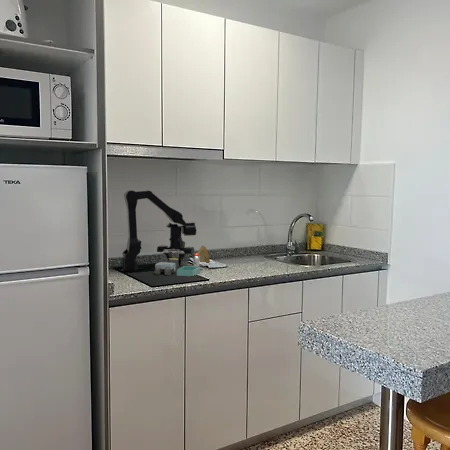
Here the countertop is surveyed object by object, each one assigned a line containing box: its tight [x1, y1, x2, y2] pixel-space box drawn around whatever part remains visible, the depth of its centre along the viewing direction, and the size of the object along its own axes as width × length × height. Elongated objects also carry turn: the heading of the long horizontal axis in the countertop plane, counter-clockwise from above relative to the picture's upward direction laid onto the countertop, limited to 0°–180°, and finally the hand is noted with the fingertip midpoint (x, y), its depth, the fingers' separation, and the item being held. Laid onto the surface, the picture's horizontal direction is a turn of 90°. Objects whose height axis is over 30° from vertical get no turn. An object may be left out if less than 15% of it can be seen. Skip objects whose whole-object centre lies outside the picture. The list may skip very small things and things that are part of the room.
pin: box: [192, 252, 200, 267], centre depth 228 cm, size 3×3×8 cm
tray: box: [176, 265, 201, 277], centre depth 217 cm, size 8×10×3 cm
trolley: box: [154, 261, 177, 276], centre depth 218 cm, size 8×10×5 cm
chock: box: [168, 256, 183, 270], centre depth 233 cm, size 5×8×5 cm, turn 165°
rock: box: [196, 245, 211, 263], centre depth 246 cm, size 11×9×10 cm
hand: (175, 266), depth 233 cm, fingers closed on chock, 4 cm apart
